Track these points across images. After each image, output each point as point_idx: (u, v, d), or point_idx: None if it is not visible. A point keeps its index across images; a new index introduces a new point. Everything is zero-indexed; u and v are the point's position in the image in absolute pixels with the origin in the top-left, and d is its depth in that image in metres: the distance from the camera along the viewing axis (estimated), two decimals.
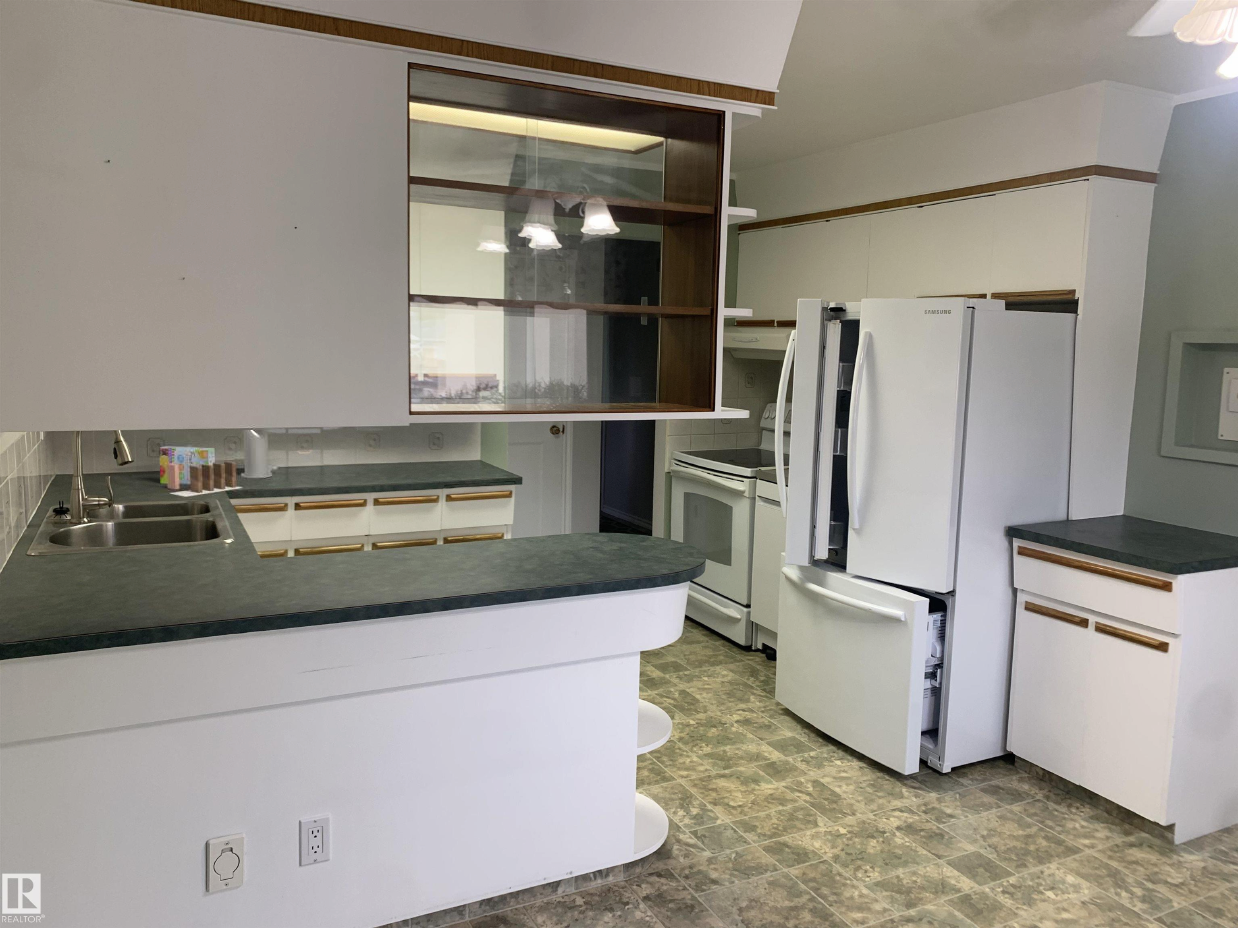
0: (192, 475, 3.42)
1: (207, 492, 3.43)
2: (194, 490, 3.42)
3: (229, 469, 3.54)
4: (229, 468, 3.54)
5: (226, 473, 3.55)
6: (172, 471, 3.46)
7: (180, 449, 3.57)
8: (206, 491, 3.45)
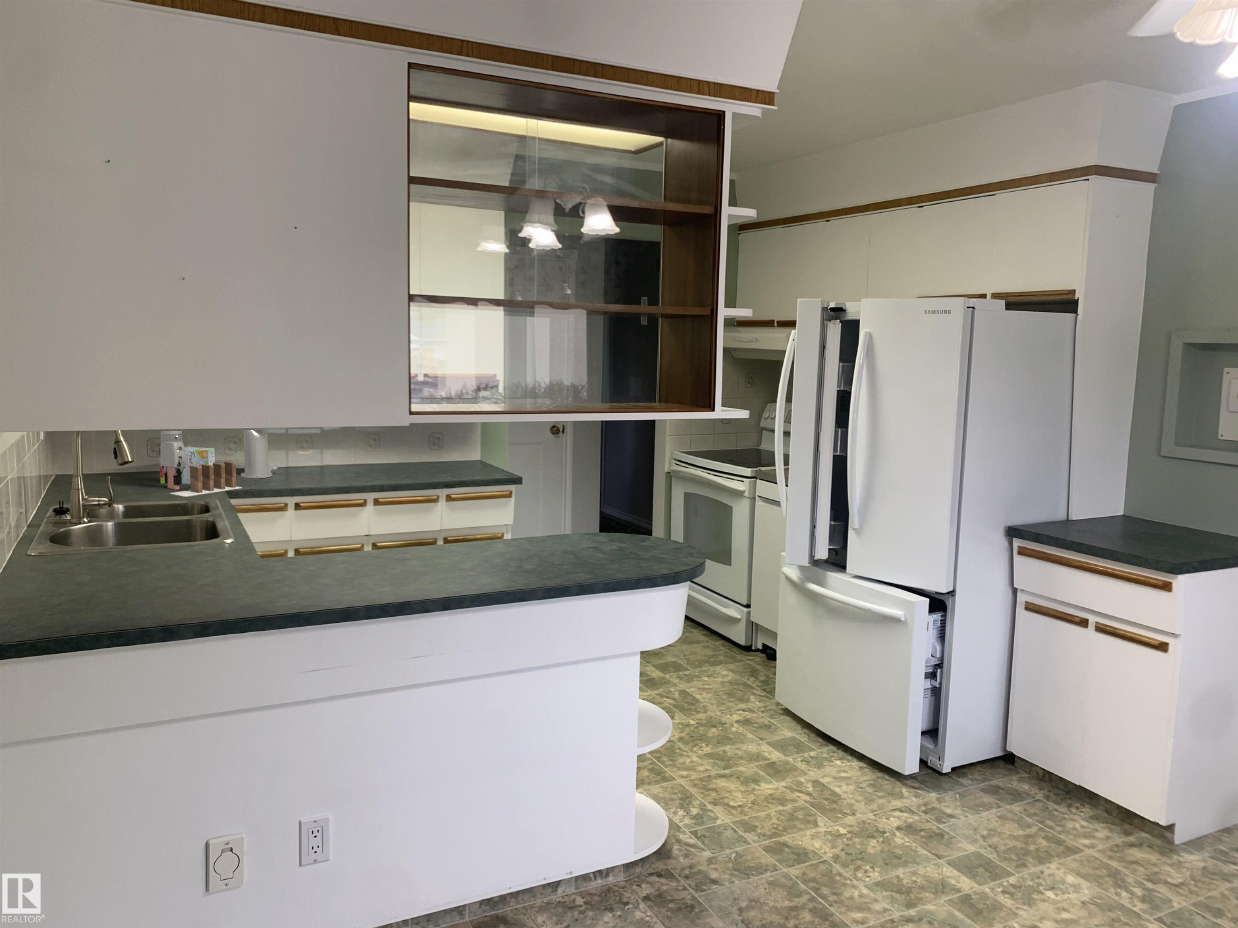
0: (192, 475, 3.42)
1: (207, 492, 3.43)
2: (194, 490, 3.42)
3: (229, 469, 3.54)
4: (229, 468, 3.54)
5: (226, 473, 3.55)
6: (172, 471, 3.46)
7: None
8: (206, 491, 3.45)
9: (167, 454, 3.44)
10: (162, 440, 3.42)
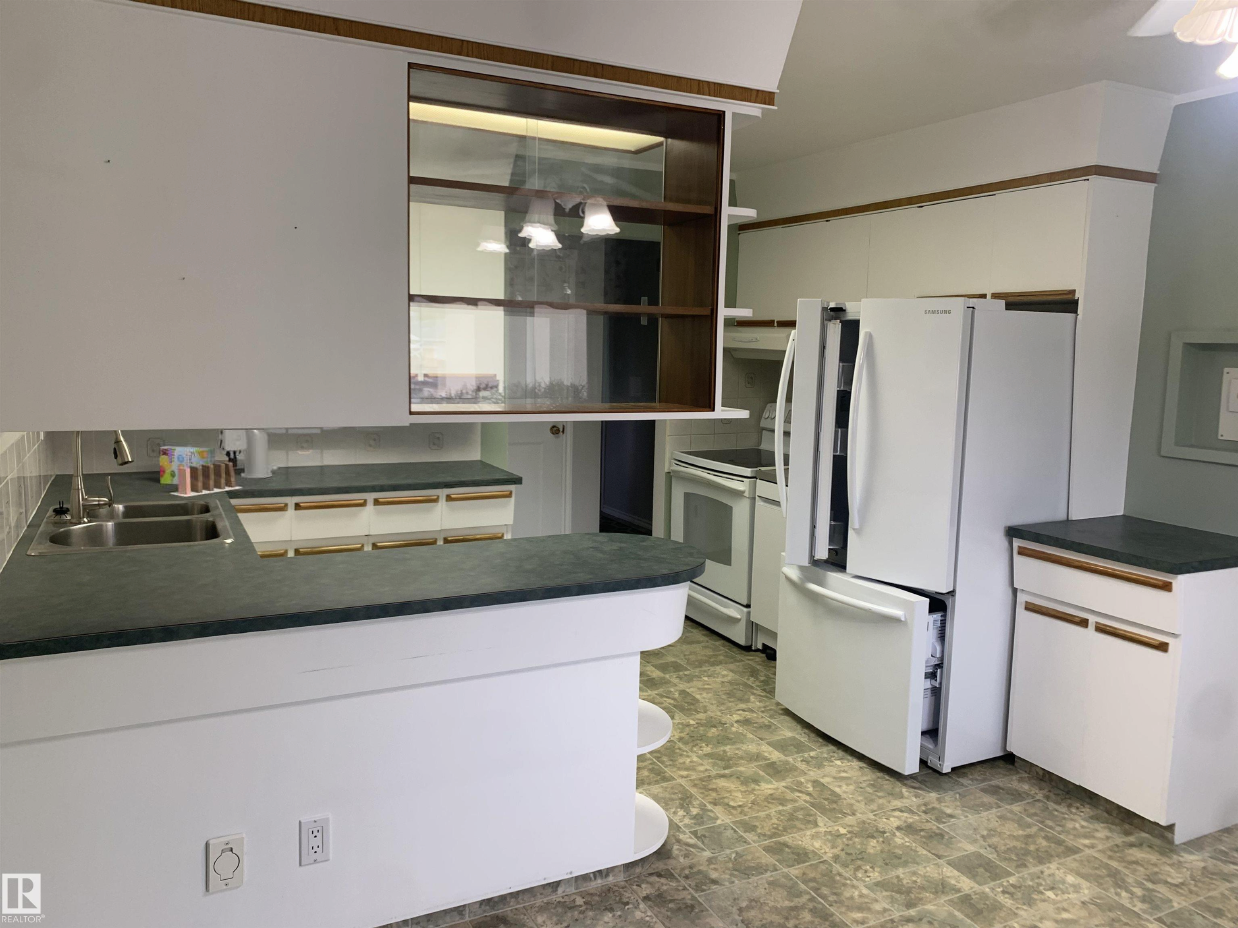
0: (192, 475, 3.42)
1: (207, 492, 3.43)
2: (194, 490, 3.42)
3: (226, 469, 3.53)
4: (227, 469, 3.52)
5: None
6: (184, 475, 3.36)
7: (180, 449, 3.57)
8: (206, 491, 3.45)
9: None
10: None
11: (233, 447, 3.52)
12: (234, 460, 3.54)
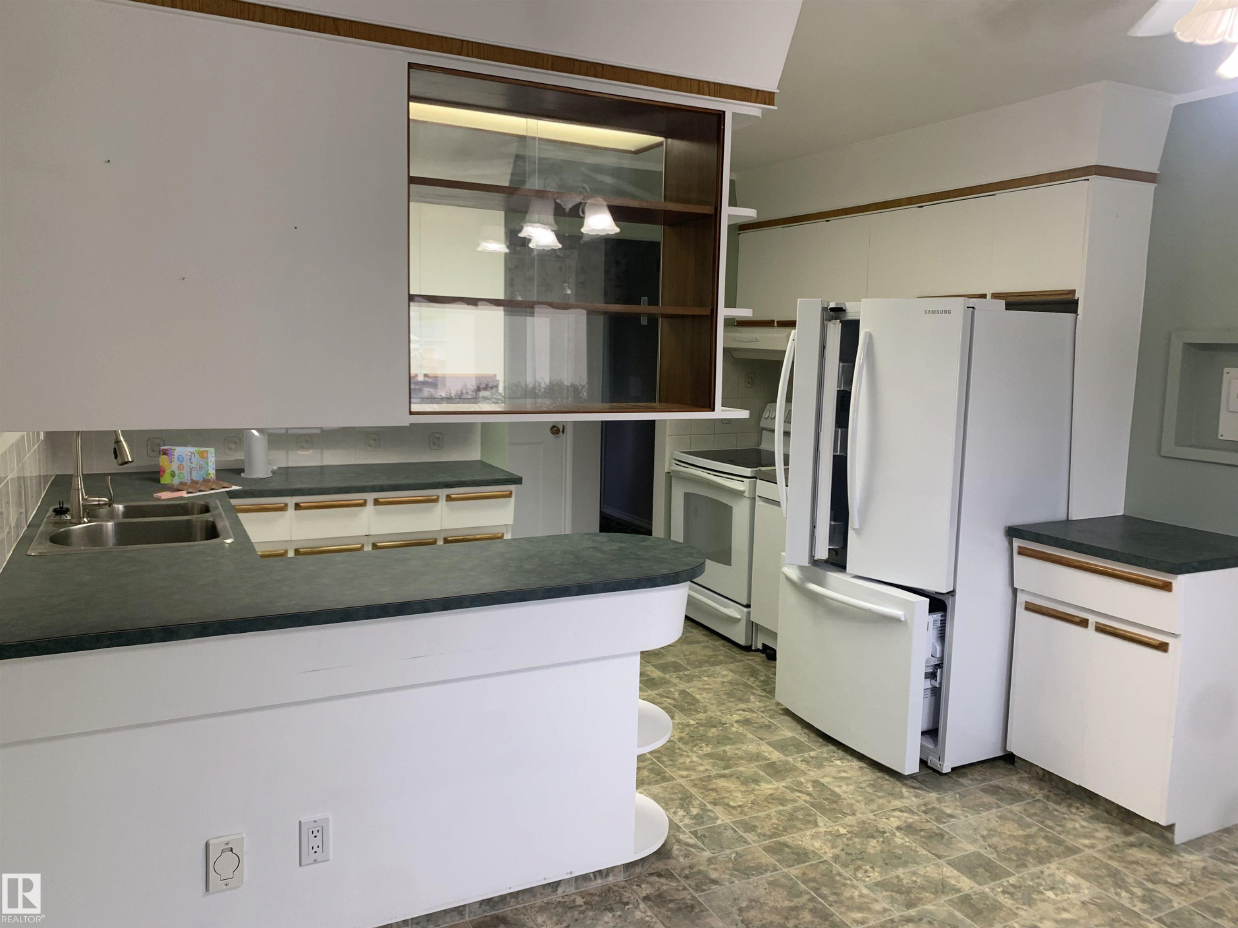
0: (176, 488, 3.37)
1: (207, 492, 3.43)
2: None
3: None
4: (213, 483, 3.48)
5: None
6: None
7: (180, 449, 3.57)
8: (206, 491, 3.45)
9: None
10: None
11: None
12: None
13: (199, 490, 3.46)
